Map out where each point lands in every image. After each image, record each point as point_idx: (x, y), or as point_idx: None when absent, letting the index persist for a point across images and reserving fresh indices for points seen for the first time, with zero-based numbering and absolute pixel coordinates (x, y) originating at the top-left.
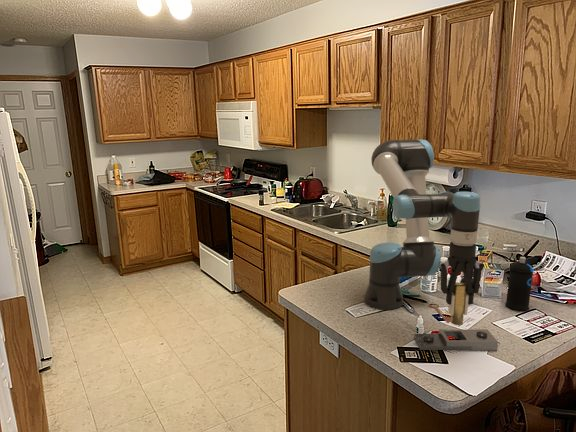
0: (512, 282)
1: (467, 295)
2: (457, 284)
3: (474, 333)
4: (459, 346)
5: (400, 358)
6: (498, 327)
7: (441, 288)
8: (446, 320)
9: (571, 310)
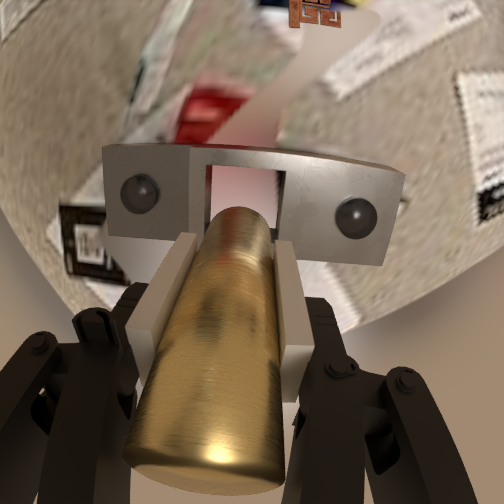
0: None
1: (290, 396)
2: (169, 472)
3: (336, 197)
4: None
5: (67, 262)
6: (459, 112)
7: (28, 359)
8: (292, 15)
9: None
